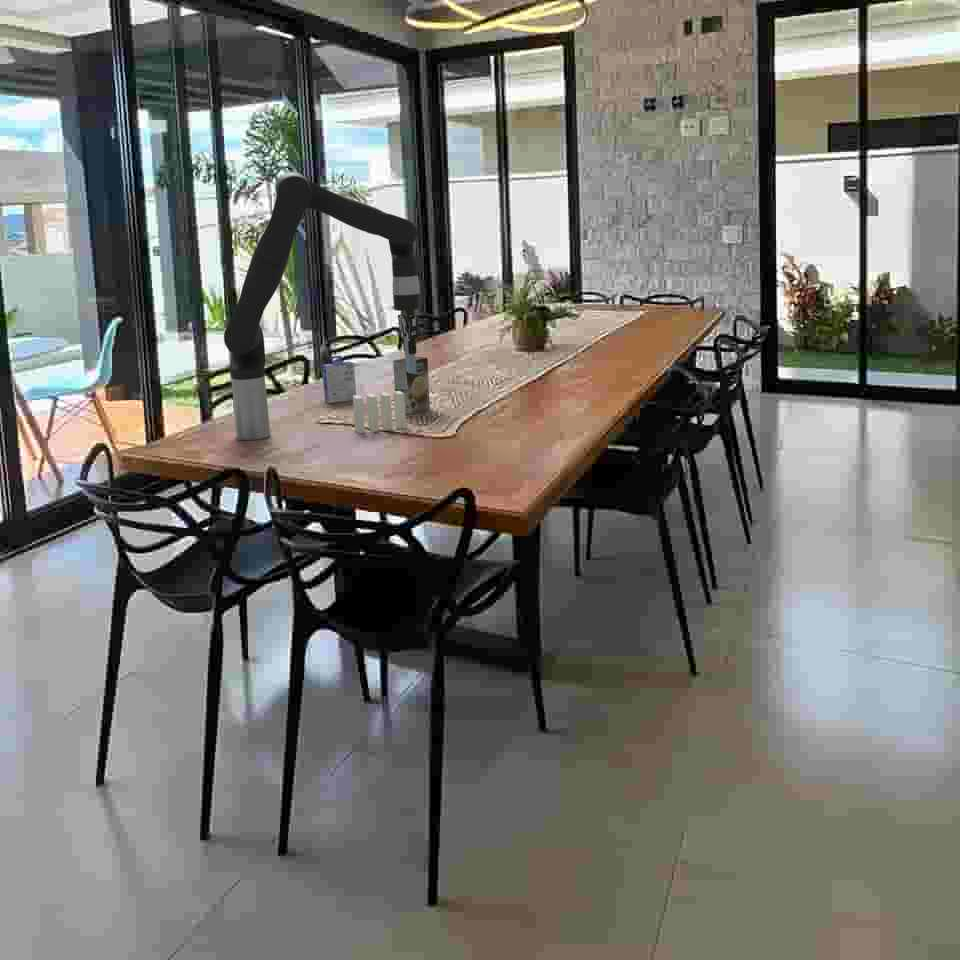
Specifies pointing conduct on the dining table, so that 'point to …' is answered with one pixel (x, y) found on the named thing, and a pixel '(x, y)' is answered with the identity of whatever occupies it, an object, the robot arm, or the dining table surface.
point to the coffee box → (413, 385)
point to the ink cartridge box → (338, 380)
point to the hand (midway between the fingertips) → (409, 352)
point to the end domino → (409, 358)
